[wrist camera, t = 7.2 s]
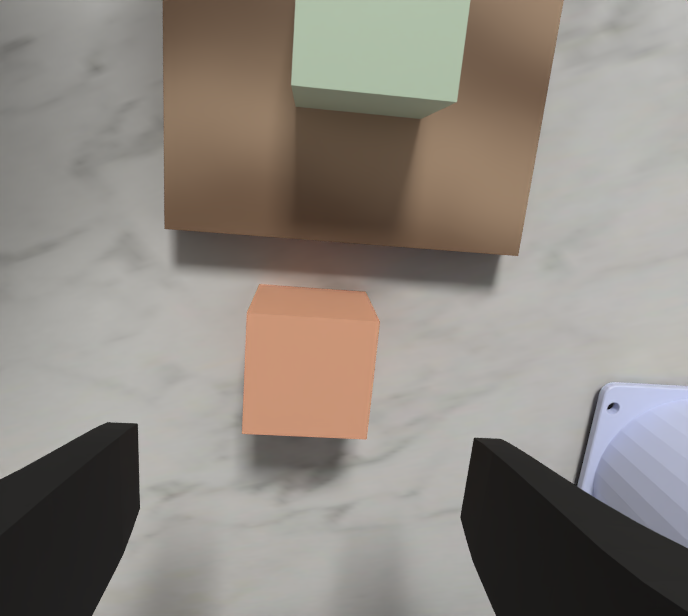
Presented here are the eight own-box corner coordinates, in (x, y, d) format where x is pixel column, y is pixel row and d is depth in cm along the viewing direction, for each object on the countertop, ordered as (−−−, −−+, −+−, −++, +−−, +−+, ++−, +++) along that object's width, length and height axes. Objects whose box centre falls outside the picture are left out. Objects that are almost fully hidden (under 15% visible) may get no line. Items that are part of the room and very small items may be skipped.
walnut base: (501, 249, 19) (518, 255, 17) (176, 224, 18) (164, 228, 16) (565, -129, 16) (592, -160, 14) (175, -188, 15) (160, -227, 13)
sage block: (421, 119, 16) (457, 101, 12) (295, 106, 16) (291, 85, 12) (437, -24, 15) (482, -92, 11) (303, -40, 14) (301, -117, 11)
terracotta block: (355, 387, 20) (366, 439, 16) (255, 382, 20) (242, 433, 16) (365, 291, 19) (379, 321, 15) (259, 283, 19) (246, 312, 15)
